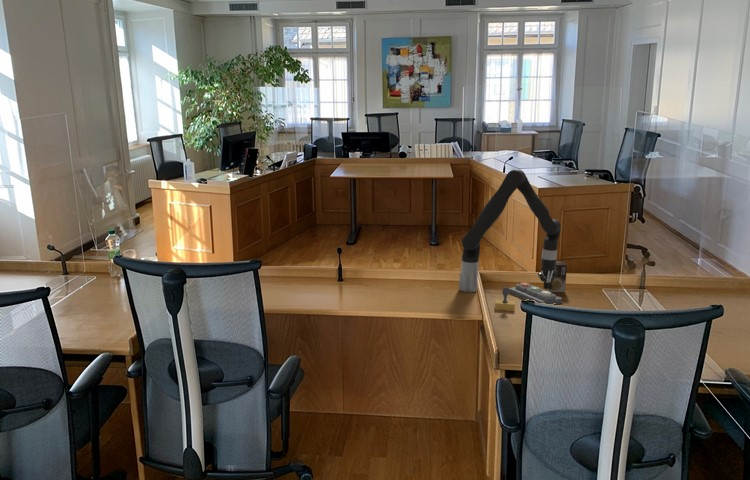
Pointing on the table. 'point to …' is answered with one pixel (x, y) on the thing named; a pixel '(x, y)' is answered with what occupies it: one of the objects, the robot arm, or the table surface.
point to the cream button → (546, 293)
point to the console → (534, 295)
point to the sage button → (535, 289)
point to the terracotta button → (524, 285)
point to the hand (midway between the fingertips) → (546, 288)
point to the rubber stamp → (505, 302)
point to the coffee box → (559, 278)
